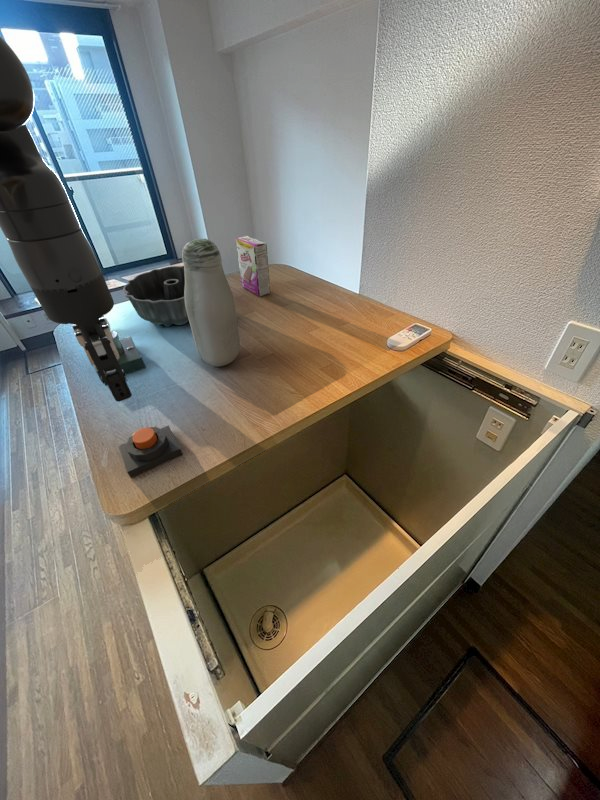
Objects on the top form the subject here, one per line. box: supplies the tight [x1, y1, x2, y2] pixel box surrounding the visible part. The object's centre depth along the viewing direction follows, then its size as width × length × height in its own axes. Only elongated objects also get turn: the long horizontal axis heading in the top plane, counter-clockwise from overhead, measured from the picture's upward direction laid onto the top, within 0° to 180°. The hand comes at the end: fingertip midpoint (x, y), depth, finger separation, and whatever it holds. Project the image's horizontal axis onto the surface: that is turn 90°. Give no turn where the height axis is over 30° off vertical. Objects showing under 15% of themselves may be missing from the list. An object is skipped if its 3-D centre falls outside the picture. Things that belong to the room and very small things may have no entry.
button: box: [132, 427, 157, 449], centre depth 56 cm, size 4×4×2 cm
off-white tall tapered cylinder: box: [181, 238, 241, 368], centre depth 72 cm, size 10×10×28 cm
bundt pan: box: [122, 265, 189, 327], centre depth 98 cm, size 26×26×10 cm
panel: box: [94, 336, 147, 383], centre depth 80 cm, size 12×10×3 cm
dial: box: [111, 331, 124, 355], centre depth 77 cm, size 4×4×5 cm
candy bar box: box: [235, 235, 271, 298], centre depth 108 cm, size 11×5×16 cm, turn 40°
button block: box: [118, 425, 183, 479], centre depth 58 cm, size 9×7×4 cm
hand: (117, 383), depth 49 cm, fingers open, 8 cm apart
